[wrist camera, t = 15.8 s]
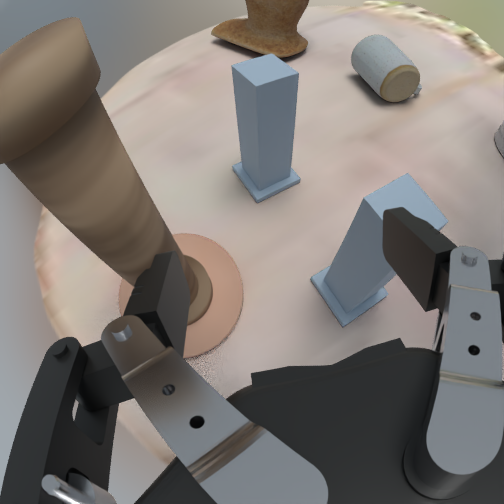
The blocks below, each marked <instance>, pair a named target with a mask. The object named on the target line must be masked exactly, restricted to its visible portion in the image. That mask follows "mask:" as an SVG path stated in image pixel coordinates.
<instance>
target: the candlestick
mask: <svg viewBox="0 0 504 504" xmlns="http://www.w3.org/2000/svg"><path fill="white" fill-rule="evenodd" d="M100 73H101V72H100V68H99V66H98V64H97V61H96V58H95V56H94V53H93V51H92V49H91V46H90V44H89V41H88V39H87V36H86V34H85V31H84V28H83V26H82V23H81V21H80V19H79V18H76V17H72V18H66V19H62V20H59V21H56V22H53V23H51V24H48V25H46V26H44V27H42V28H40V29H38V30H36V31H34V32H32V33H31V34H29V35H27V36H26V37H24V38H22V39H21V40H20V41H18V42H16V43H15V44H14V45H12V46H11V47H10V48H8V49H7V50H6V51H4V52H3V53H2V54H1V55H0V164H3V163H5V164H6V165H7V167H8V168H9V169H10V170H11V171H12V172H13V173H14V174H15V175H16V177H17V178H18V179H19V180H20V181H21V182H22V183H23V184H24V185H25V186H26V187H27V188H28V189H29V190H30V191H31V193H32V194H33V195H34V196H35V197H36V198H37V199H38V200H39V201H40V202H41V203H42V204H43V205H44V206H45V207H46V208H47V209H48V210H49V211H50V212H51V213H52V214H53V215H54V216H55V217H56V218H57V219H58V220H59V221H60V222H61V223H62V224H63V225H64V226H65V227H66V228H67V229H69V230H70V231H71V232H72V233H73V234H74V235H75V236H76V237H77V238H78V239H79V240H80V241H81V242H82V243H84V244H85V245H86V246H87V247H88V248H89V249H90V250H91V251H92V252H93V253H95V254H96V255H97V256H98V257H99V258H100V259H101V260H102V261H104V262H105V263H106V264H107V265H108V266H109V267H110V268H112V269H113V270H114V271H115V272H116V273H117V274H119V275H120V276H121V277H122V278H123V279H125V280H126V281H127V282H128V283H129V284H131V285H132V286H133V287H134V285H135V283H136V280H137V278H138V277H139V276H140V275H141V273H142V272H143V271H144V270H145V269H149V268H150V267H151V265H152V262H153V259H154V257H155V255H156V254H159V253H164V252H169V251H173V250H175V251H176V252H177V254H178V257H179V260H180V263H181V266H182V268H183V271H184V274H185V277H186V280H187V283H188V286H189V290H190V307H189V314H188V322H187V326H188V325H191V324H193V323H195V322H196V321H198V320H199V319H200V318H202V317H203V316H204V314H205V313H206V312H207V310H208V309H209V307H210V304H211V301H212V297H213V287H212V283H211V280H210V278H209V276H208V274H207V272H206V270H205V268H204V267H203V265H202V264H201V263H200V262H198V261H197V260H196V259H194V258H192V257H190V256H187V255H183V253H182V251H181V250H180V248H179V246H178V245H177V243H176V241H175V239H174V238H173V236H172V234H171V232H170V231H169V229H168V227H167V225H166V224H165V222H164V220H163V218H162V217H161V215H160V213H159V211H158V210H157V208H156V206H155V204H154V202H153V201H152V199H151V197H150V195H149V193H148V191H147V190H146V188H145V186H144V184H143V182H142V180H141V178H140V177H139V175H138V173H137V171H136V169H135V167H134V165H133V163H132V161H131V160H130V158H129V156H128V154H127V152H126V150H125V148H124V146H123V144H122V142H121V140H120V138H119V136H118V134H117V132H116V130H115V128H114V126H113V124H112V122H111V120H110V118H109V116H108V114H107V112H106V110H105V108H104V106H103V104H102V102H101V99H100V97H99V95H98V93H97V91H96V89H95V88H96V86H97V84H98V82H99V79H100Z"/></svg>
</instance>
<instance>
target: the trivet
mask: <svg viewBox="0 0 504 504" xmlns="http://www.w3.org/2000/svg"><path fill="white" fill-rule="evenodd" d="M172 236H173V238H174V239H175V241H176V243H177V245H178V246H179V248H180V250H181V251H182V253H183V255H187V256H190V257H192V258H194V259H196V260H197V261H198V262H200V263H201V264H202V265H203V267H204V268H205V270H206V272H207V274H208V276H209V278H210V280H211V283H212V287H213V297H212V301H211V304H210V307H209V309H208V310H207V312H206V313H205V314H204V316H203V317H202V318H200V319H199V320H198V321H196V322H195V323H193V324H191V325H188V326H187V330H186V338H185V346H184V355H183V358H190V357H195V356H199V355H201V354H204V353H206V352H208V351H210V350H212V349H214V348H215V347H216V346H218V345H219V344H220V343H221V342H223V341H224V340H225V339H226V338H227V336H228V335H229V334H230V333H231V331H232V330H233V328H234V327H235V325H236V323H237V321H238V319H239V316H240V313H241V310H242V304H243V286H242V281H241V277H240V273H239V270H238V268H237V265H236V264H235V262H234V260H233V259H232V257H231V256H230V255H229V253H228V252H227V251H226V250H225V249H224V248H223V247H221V246H220V245H219V244H217V243H216V242H214V241H212V240H210V239H208V238H206V237H203V236H199V235H195V234H174V235H172ZM133 288H134V287H133V286H132V285H131V284H129V283H128V282H127V281H126V280H125V279H123V278H122V281H121V285H120V290H119V308H120V313H121V317H122V316H123V314H124V311H125V308H126V306H127V303H128V300H129V298H130V296H131V293H132V290H133Z"/></svg>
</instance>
